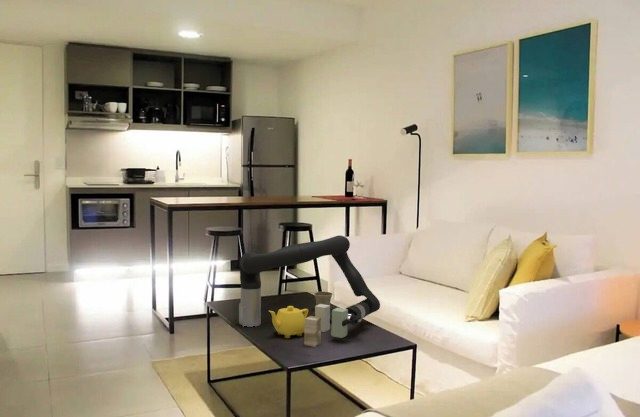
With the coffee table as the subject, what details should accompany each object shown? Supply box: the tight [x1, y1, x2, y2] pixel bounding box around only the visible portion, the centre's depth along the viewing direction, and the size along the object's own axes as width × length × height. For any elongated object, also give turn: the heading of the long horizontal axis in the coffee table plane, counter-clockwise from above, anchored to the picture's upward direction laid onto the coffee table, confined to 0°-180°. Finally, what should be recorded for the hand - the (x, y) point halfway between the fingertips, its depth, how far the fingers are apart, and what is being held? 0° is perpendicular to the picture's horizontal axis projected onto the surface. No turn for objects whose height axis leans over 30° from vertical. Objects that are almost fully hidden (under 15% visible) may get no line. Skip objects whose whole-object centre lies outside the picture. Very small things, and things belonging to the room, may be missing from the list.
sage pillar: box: [330, 307, 348, 339], centre depth 235 cm, size 5×5×11 cm
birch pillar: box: [303, 315, 322, 348], centre depth 230 cm, size 5×5×11 cm
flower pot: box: [313, 291, 333, 306], centre depth 284 cm, size 9×9×9 cm
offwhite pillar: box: [314, 304, 331, 333], centre depth 251 cm, size 5×5×11 cm
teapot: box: [268, 305, 309, 339], centre depth 243 cm, size 13×20×12 cm
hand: (336, 322), depth 233 cm, fingers closed on sage pillar, 5 cm apart
